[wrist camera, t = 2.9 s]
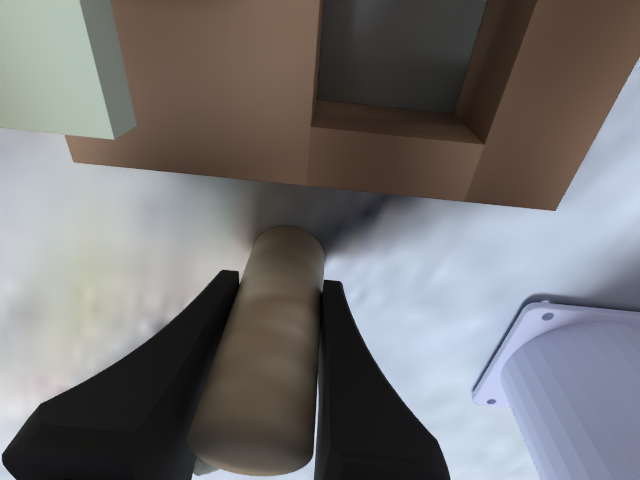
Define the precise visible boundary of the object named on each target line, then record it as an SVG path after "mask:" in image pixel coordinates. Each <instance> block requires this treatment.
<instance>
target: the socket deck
mask: <svg viewBox="0 0 640 480" xmlns="http://www.w3.org/2000/svg"><path fill="white" fill-rule="evenodd" d="M324 1H325V0H0V128H5V129H14V130H24V131H34V132H44V133H54V134H63V135H65V138H66V141H67V144H68V147H69V150H70V153H71V156H72V159H73V162H75V163H85V164H95V165H105V166H115V167H125V168H135V169H145V170H155V171H165V172H175V173H184V174H194V175H204V176H214V177H224V178H234V179H244V180H254V181H264V182H274V183H284V184H293V185H303V186H313V187H323V188H333V189H343V190H353V191H363V192H373V193H383V194H393V195H403V196H412V197H422V198H432V199H442V200H452V201H462V202H472V203H482V204H492V205H502V206H512V207H522V208H531V209H541V210H551V211H556V209H557V207H558V205H559V203H560V201H561V200H562V198H563V196H564V194H565V192H566V190H567V189H568V187H569V185H570V183H571V181H572V179H573V178H574V176H575V174H576V172H577V170H578V169H579V167H580V165H581V163H582V161H583V159H584V158H585V156H586V154H587V152H588V150H589V148H590V147H591V145H592V143H593V141H594V139H595V137H596V136H597V134H598V132H599V130H600V128H601V126H602V125H603V123H604V121H605V119H606V117H607V115H608V114H609V112H610V110H611V108H612V106H613V104H614V103H615V101H616V99H617V97H618V95H619V93H620V92H621V90H622V88H623V86H624V84H625V82H626V81H627V79H628V77H629V75H630V73H631V71H632V70H633V68H634V66H635V64H636V62H637V60H638V59H639V57H640V0H488V2H487V5H486V8H485V12H484V15H483V18H482V22H481V25H480V28H479V32H478V35H477V38H476V42H475V45H474V48H473V52H472V55H471V58H470V62H469V65H468V68H467V72H466V75H465V79H464V82H463V85H462V89H461V92H460V95H459V99H458V102H457V105H456V109H455V112H454V114H450V113H441V112H431V111H421V110H412V109H402V108H392V107H383V106H373V105H364V104H354V103H344V102H335V101H325V100H317V89H318V77H319V64H320V52H321V39H322V26H323V14H324Z"/></svg>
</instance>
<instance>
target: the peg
mask: <svg viewBox="0 0 640 480" xmlns="http://www.w3.org/2000/svg"><path fill="white" fill-rule="evenodd" d="M324 259H325V256H324V250H323V248H322V246H321V244H320V242H319V241H318V240H317V239H316V238H315V237H314V236H313V235H312V234H310V233H309V232H307V231H305V230H303V229H300V228H297V227H292V226H279V227H274V228H271V229H269V230H266V231H265V232H263V233H262V234H261V235H260V236H259V237H258V238H257V239H256V241H255V243H254V245H253V248H252V251H251V254H250V257H249V259H248V262H247V265H246V268H245V271H244V274H243V277H242V279H241V282H240V285H239V288H238V291H237V294H236V297H235V299H234V302H233V305H232V308H231V311H230V314H229V317H228V319H227V322H226V325H225V328H224V331H223V334H222V337H221V340H220V342H219V345H218V348H217V351H216V354H215V357H214V360H213V362H212V365H211V368H210V371H209V374H208V377H207V380H206V382H205V385H204V388H203V391H202V394H201V397H200V400H199V403H198V405H197V408H196V411H195V414H194V417H193V420H192V423H191V425H190V428H189V431H188V434H187V443H188V446H189V448H190V449H191V451H192V452H193V453H194V454H195V455H196V456H197V457H199V458H200V459H201V460H203V461H205V462H206V463H208V464H210V465H212V466H214V467H217V468H219V469H222V470H225V471H229V472H233V473H237V474H243V475H250V476H276V475H283V474H288V473H291V472H294V471H297V470H299V469H301V468H303V467H304V466H306V465H307V464H308V463H309V462H310V461H311V459H312V457H313V451H314V433H315V416H316V399H317V381H318V364H319V346H320V329H321V304H322V291H323V277H324Z"/></svg>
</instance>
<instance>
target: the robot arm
mask: <svg viewBox="0 0 640 480" xmlns="http://www.w3.org/2000/svg"><path fill="white" fill-rule="evenodd" d="M238 288H239V271H230V270H222V271H220V272H219V273H218V274H217V276H216V277H215V278H214V279H213V280H212V281H211V282H210V283H209V284H208V286H207V287H206V288H205V289H204V290H203V291H202V292H201V293H200V294H199V295H198V296H197V297H196V298H195V299H194V300H193V301H192V302H191V303H190V304H189V305H188V306H187V307H186V308H185V309H184V310H183V311H182V312H181V313H180V314H179V315H177V316H176V317H175V318H174V319H173V320H172V321H171V322H170V323H169V324H167V325H166V326H165V327H164V328H163V329H162V330H160V331H159V332H158V333H157V334H155V335H154V336H153V337H152V338H150V339H149V340H148V341H146V342H145V343H144V344H142V345H141V346H140V347H138V348H137V349H135V350H134V351H133V352H131V353H130V354H128V355H127V356H125V357H124V358H122V359H121V360H119V361H118V362H116V363H115V364H113V365H111V366H110V367H108V368H106V369H105V370H103V371H102V372H100V373H98V374H97V375H95V376H93V377H91V378H90V379H88V380H86V381H84V382H83V383H81V384H79V385H77V386H75V387H73V388H71V389H69V390H67V391H65V392H63V393H61V394H59V395H57V396H55V397H54V398H52V399H50V400H48V401H45V402H43V403H41V404H40V405H39V406H38V408H37V409H36V410H35V411H34V412H33V413H32V415H31V416H30V417H29V418H28V420H27V421H26V422H25V424H24V425H23V426H22V428H21V429H20V430H19V432H18V433H17V435H16V436H15V437H14V439H13V440H12V441H11V443H10V444H9V445H8V447H7V448H6V450H5V451H4V452H3V454H2V462H3V465H4V466H5V468H6V469H7V470H8V471H9V472H10V474H11V475H12V476H13V477H14V478H15V479H16V480H191V478H192V474H193V470H194V466H195V461H196V457H197V456H196V455H195V454H194V453H193V452H192V451H191V449H190V448H189V446H188V443H187V434H188V431H189V428H190V425H191V423H192V420H193V417H194V414H195V411H196V408H197V405H198V403H199V400H200V397H201V394H202V391H203V388H204V385H205V382H206V380H207V377H208V374H209V371H210V368H211V365H212V362H213V360H214V357H215V354H216V351H217V348H218V345H219V342H220V340H221V337H222V334H223V331H224V328H225V325H226V322H227V319H228V317H229V314H230V311H231V308H232V305H233V302H234V299H235V297H236V294H237V291H238ZM318 389H319V410H318V426H317V442H316V457H315V472H314V480H450V475H449V471H448V467H447V464H446V462H445V459H444V456H443V453H442V451H441V448H440V446H439V443H438V441H437V440H436V439H435V438H434V436H433V435H432V434H431V433H430V432H429V431H428V430H427V429H426V428H425V427H424V426H423V424H422V423H421V422H420V421H419V420H418V419H417V418H416V417H415V415H414V414H413V413H412V412H411V411H410V409H409V408H408V407H407V406H406V404H405V403H404V402H403V401H402V399H401V398H400V397H399V395H398V394H397V393H396V391H395V390H394V389H393V387H392V386H391V384H390V383H389V382H388V380H387V379H386V377H385V376H384V374H383V373H382V371H381V370H380V368H379V367H378V365H377V363H376V362H375V360H374V359H373V357H372V355H371V353H370V352H369V350H368V348H367V346H366V344H365V342H364V340H363V338H362V336H361V334H360V332H359V330H358V328H357V326H356V323H355V321H354V319H353V316H352V314H351V311H350V309H349V306H348V303H347V300H346V297H345V293H344V290H343V285H342V283H341V282H340V281H332V280H324V283H323V291H322V304H321V329H320V346H319V364H318ZM472 399H473V402H474V403H475V404H477V405H483V406H494V407H505V408H511V410H512V412H513V415H514V417H515V420H516V422H517V424H518V427H519V429H520V432H521V434H522V436H523V439H524V441H525V443H526V446H527V448H528V451H529V453H530V455H531V458H532V460H533V463H534V465H535V467H536V470H537V472H538V475H539V477H540V479H541V480H640V312H633V311H623V310H613V309H602V308H592V307H582V306H572V305H561V304H551V303H541V302H533V303H530V304H528V305H526V306H525V307H524V308H523V310H522V311H521V313H520V315H519V316H518V318H517V320H516V321H515V323H514V325H513V326H512V328H511V330H510V332H509V333H508V335H507V337H506V338H505V340H504V342H503V343H502V345H501V347H500V348H499V350H498V352H497V353H496V355H495V357H494V358H493V360H492V362H491V363H490V365H489V367H488V369H487V370H486V372H485V374H484V375H483V377H482V379H481V380H480V382H479V384H478V385H477V387H476V389H475V390H474V392H473V394H472Z"/></svg>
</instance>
